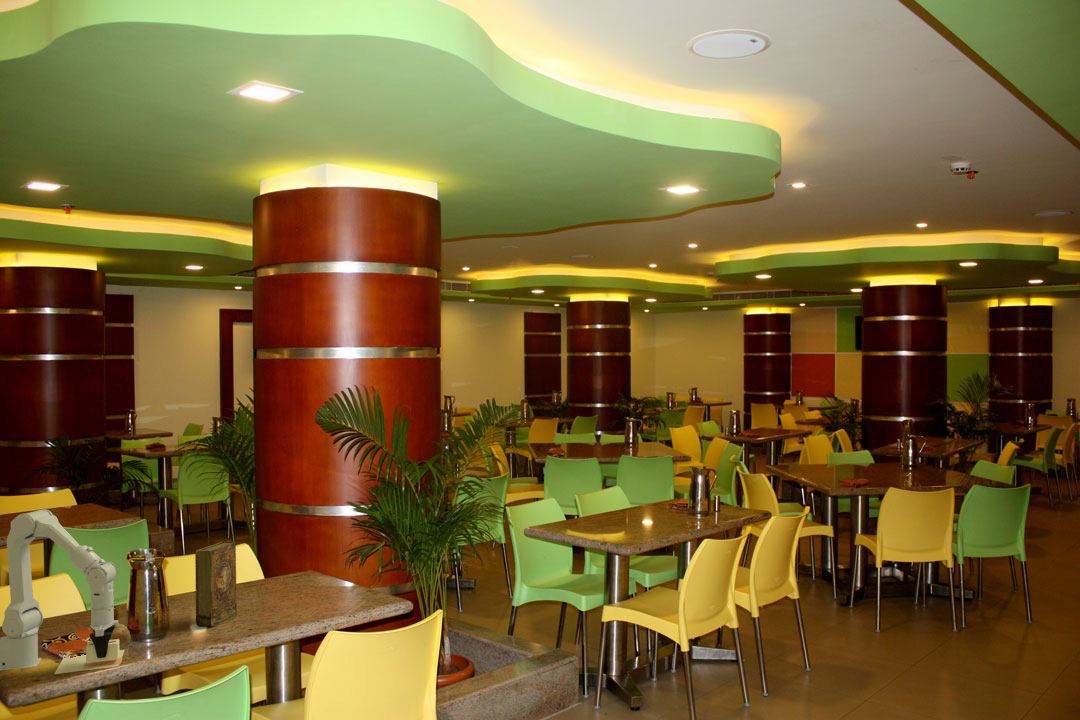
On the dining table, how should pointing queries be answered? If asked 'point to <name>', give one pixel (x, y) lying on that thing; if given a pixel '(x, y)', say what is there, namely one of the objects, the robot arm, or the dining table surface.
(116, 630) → the bread roll
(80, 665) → the mat
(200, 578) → the book
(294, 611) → the dining table surface
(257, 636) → the dining table surface
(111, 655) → the card box
